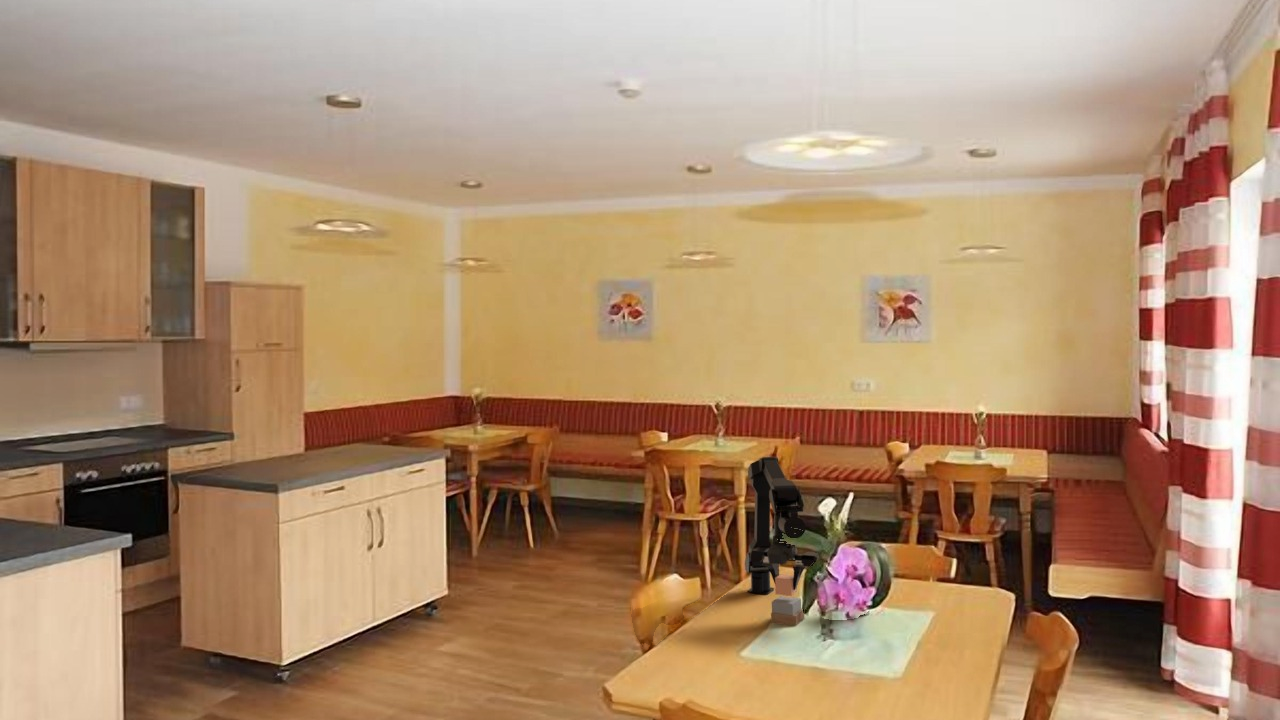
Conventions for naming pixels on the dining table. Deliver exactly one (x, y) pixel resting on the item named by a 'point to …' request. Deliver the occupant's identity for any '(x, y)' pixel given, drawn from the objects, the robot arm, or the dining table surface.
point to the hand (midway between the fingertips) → (786, 588)
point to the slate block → (786, 605)
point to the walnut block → (787, 618)
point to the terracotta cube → (784, 585)
